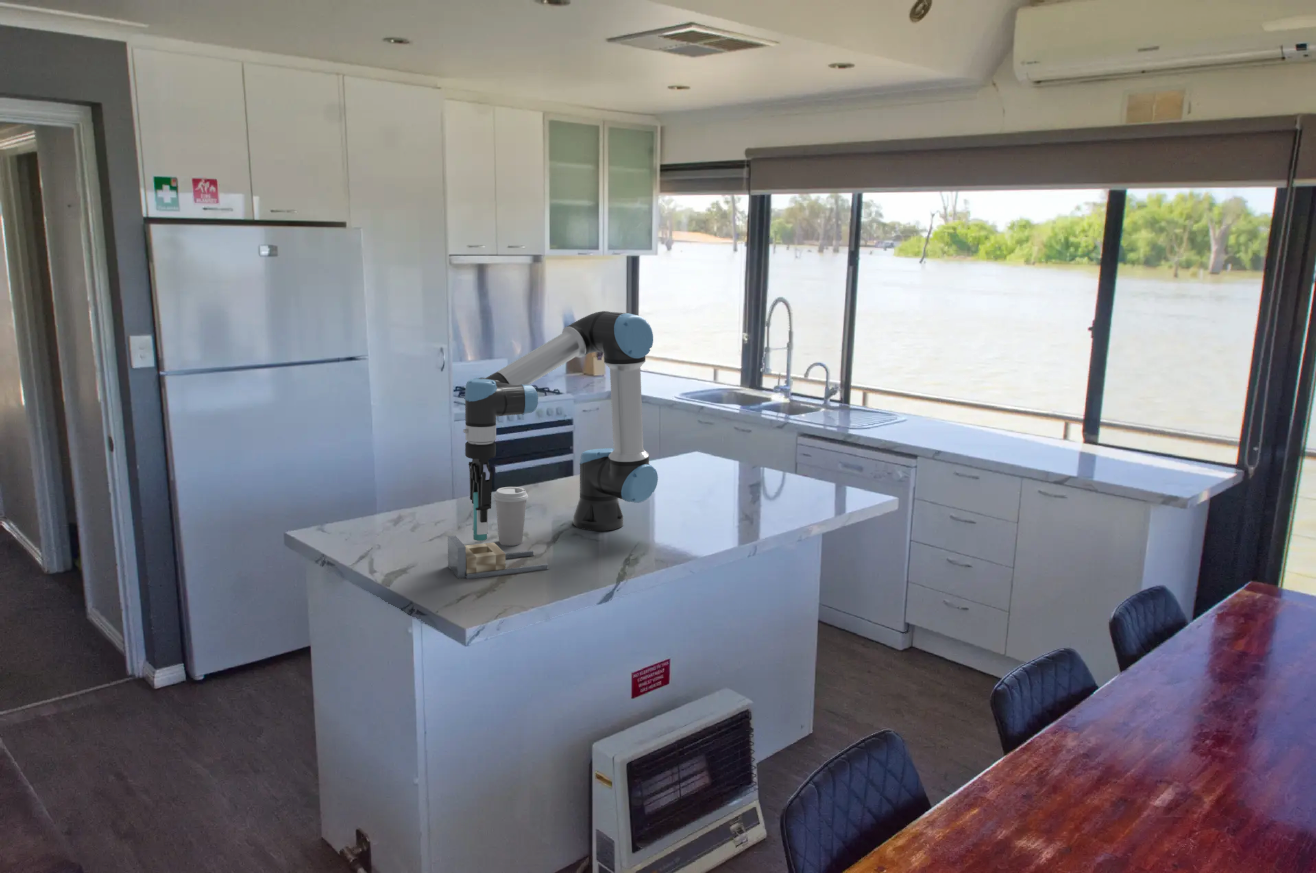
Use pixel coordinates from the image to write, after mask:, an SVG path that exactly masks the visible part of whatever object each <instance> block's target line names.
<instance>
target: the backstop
mask: <svg viewBox="0 0 1316 873" xmlns="http://www.w3.org/2000/svg"><path fill="white" fill-rule="evenodd" d="M465 546H466V545H464V543H463V542H462V541H461V540H460V539H459V538H458V536H456V535H450V536H449V535H448V536H447V566H448V568H449V569H450V570H451V572H452V573H453V574H454V576H455V577H456V578H457V579H466V580H471V579H479V578H487V577H494V576H505V575H512V574H520V573H528V572H535V571H545V570H548V569H549V564H548V563H542V564H533V565H526V566H518V567H516V566H515V567H511V568H510V567H509V568H505V569H500V570H492V571H483V572H475V573H467V574H466V547H465ZM533 556H534V550H526V551H518V552H509V553H505V560H507V559H517V558H524V557H525V558H526V557H533Z"/></svg>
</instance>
